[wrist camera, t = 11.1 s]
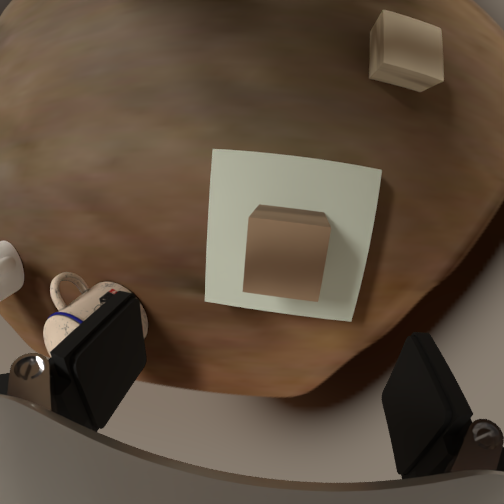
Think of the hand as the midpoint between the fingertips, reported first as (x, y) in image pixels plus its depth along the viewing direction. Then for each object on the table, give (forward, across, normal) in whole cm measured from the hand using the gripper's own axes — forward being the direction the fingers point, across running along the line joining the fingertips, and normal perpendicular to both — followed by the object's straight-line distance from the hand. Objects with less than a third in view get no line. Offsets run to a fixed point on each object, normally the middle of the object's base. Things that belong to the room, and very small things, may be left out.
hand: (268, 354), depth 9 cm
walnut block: (+15, 0, 0) cm, 15 cm away
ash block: (+18, -8, -17) cm, 26 cm away
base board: (+18, 0, 0) cm, 18 cm away
